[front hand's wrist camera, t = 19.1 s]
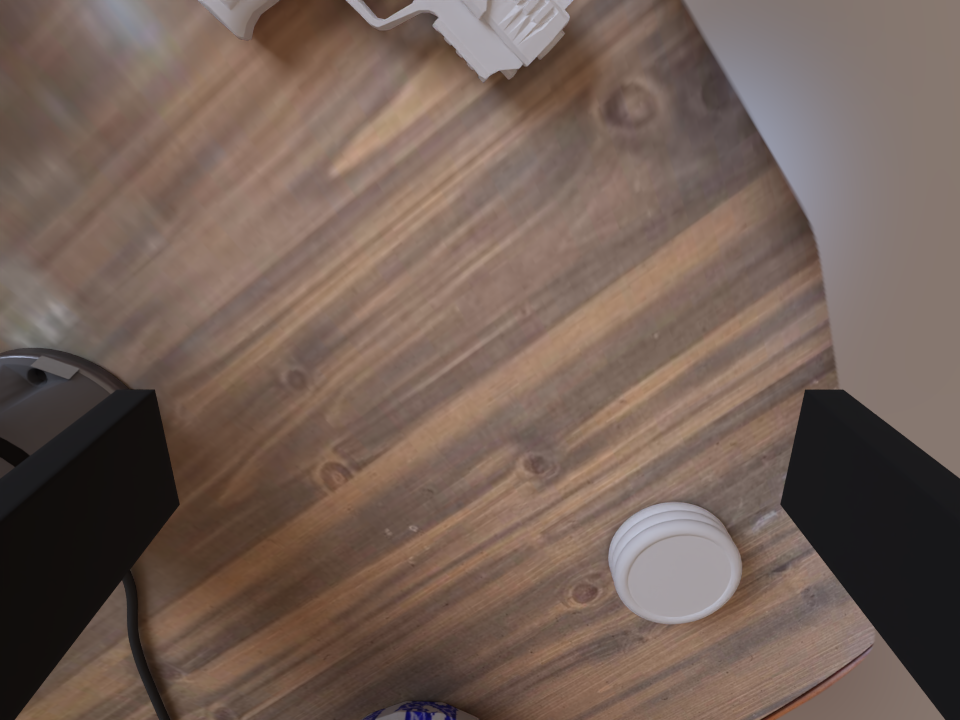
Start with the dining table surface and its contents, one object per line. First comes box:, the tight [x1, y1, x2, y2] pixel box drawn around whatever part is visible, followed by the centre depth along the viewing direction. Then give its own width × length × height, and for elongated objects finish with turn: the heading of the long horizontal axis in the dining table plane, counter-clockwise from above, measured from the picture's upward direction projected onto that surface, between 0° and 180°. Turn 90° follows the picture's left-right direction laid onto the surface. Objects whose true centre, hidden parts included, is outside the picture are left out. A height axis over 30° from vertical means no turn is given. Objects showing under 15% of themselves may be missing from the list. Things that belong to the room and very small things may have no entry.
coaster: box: [608, 502, 742, 624], centre depth 50 cm, size 10×10×4 cm
